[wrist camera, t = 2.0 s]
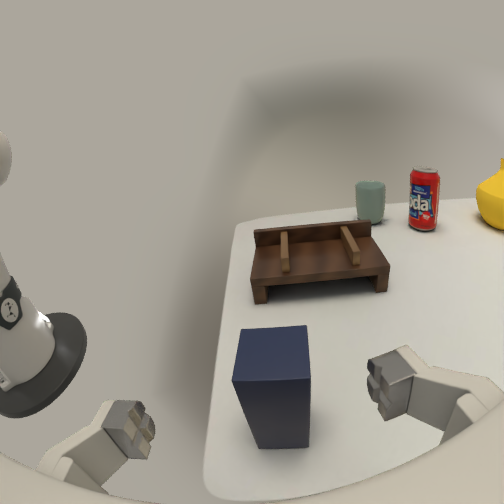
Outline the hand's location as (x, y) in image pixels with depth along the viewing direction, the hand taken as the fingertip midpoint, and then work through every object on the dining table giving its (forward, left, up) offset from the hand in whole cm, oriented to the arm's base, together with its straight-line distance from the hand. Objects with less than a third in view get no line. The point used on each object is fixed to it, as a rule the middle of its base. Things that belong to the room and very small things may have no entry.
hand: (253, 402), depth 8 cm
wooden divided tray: (+6, +36, -19) cm, 41 cm away
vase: (+65, +52, -19) cm, 85 cm away
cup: (+23, +60, -19) cm, 67 cm away
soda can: (+36, +54, -19) cm, 67 cm away
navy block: (0, +8, -19) cm, 20 cm away
